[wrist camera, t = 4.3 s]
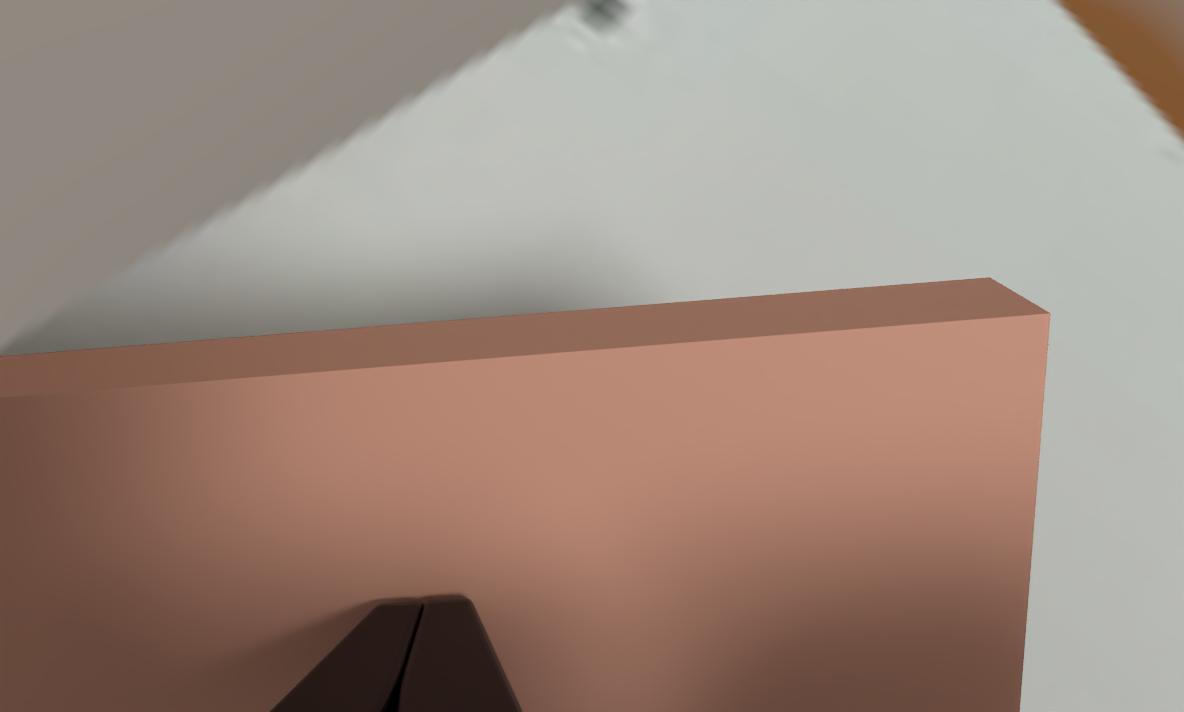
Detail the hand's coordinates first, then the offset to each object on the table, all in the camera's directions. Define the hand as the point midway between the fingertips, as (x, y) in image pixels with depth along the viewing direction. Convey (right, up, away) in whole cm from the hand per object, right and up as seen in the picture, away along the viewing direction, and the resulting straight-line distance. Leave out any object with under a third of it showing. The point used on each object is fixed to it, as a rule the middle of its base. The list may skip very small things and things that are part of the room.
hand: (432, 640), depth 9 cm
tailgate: (0, -6, +3) cm, 6 cm away
